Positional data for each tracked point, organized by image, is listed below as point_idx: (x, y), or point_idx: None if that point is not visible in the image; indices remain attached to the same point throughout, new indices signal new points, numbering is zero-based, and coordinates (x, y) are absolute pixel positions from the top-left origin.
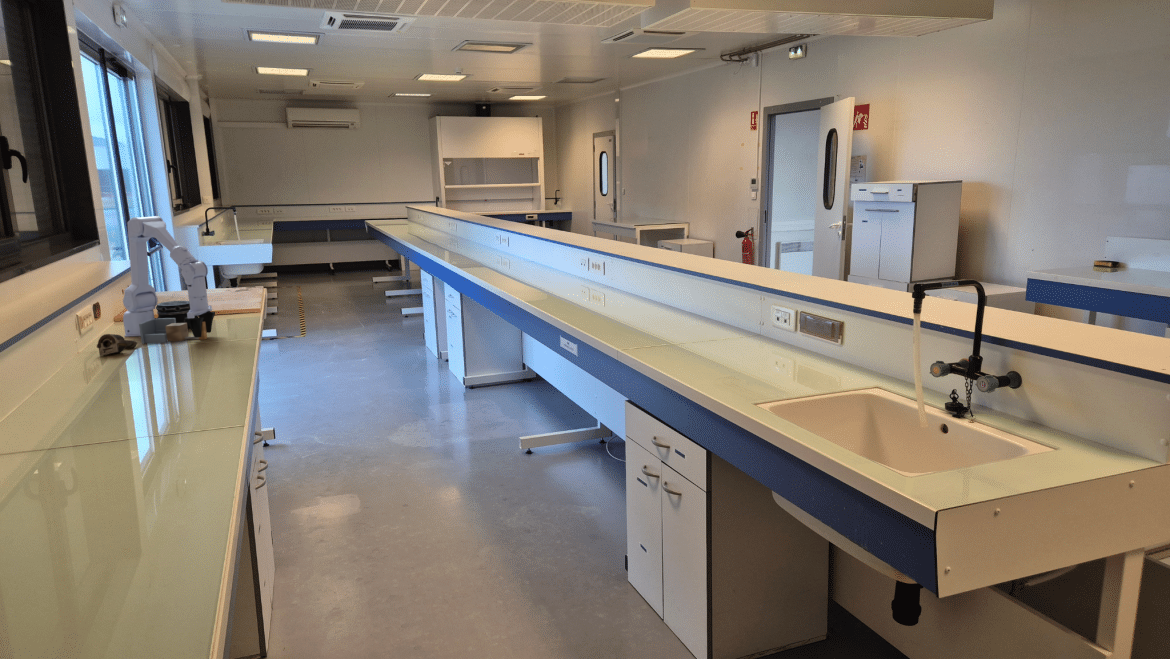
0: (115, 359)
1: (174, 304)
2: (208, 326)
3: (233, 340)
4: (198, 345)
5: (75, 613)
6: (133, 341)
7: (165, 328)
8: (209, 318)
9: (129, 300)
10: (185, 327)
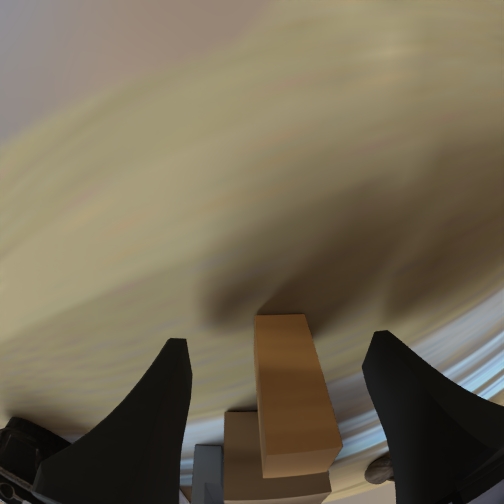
0: (497, 402)
1: None
2: (177, 392)
3: (392, 38)
4: (475, 266)
5: None
6: (391, 474)
7: (209, 500)
8: (152, 464)
9: None
10: (254, 475)
